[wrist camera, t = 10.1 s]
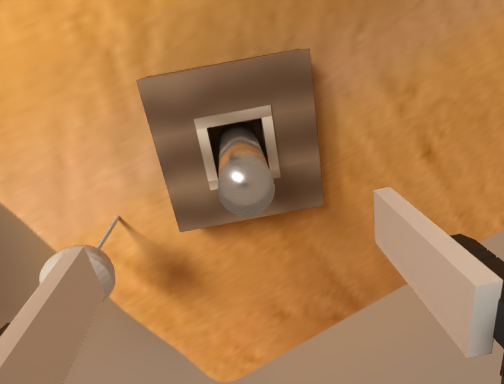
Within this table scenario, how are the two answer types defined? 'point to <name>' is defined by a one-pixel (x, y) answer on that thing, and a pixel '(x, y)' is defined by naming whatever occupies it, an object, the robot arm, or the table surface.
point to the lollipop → (98, 261)
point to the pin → (243, 171)
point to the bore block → (231, 111)
